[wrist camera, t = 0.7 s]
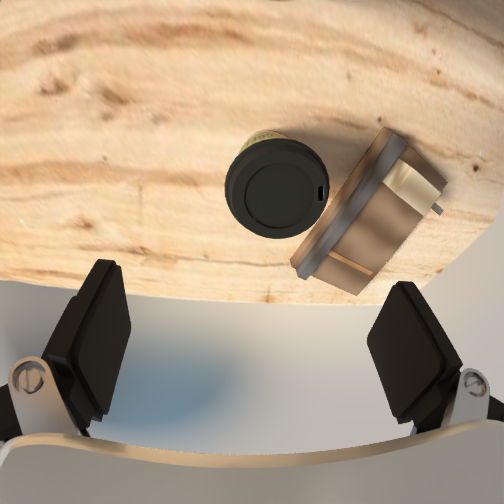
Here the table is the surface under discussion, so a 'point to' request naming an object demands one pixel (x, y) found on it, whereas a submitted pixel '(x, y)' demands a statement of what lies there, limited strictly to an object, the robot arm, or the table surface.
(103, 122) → the table surface
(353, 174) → the walnut board
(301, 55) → the table surface
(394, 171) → the block
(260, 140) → the coffee cup
